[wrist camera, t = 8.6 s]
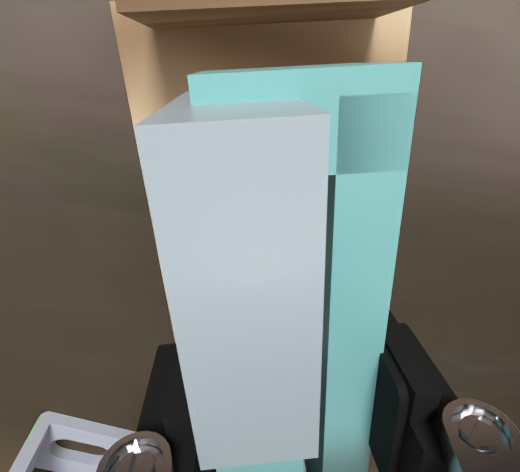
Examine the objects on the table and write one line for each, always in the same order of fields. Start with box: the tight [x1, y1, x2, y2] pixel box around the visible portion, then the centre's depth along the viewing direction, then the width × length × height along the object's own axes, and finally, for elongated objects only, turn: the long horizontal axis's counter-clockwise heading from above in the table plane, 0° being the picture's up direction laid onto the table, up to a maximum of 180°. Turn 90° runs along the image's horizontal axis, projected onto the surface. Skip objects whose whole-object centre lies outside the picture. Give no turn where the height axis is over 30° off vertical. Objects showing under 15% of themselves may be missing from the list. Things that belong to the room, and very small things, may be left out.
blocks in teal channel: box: [134, 62, 422, 472], centre depth 9 cm, size 14×4×5 cm, turn 3°
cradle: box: [109, 0, 430, 343], centre depth 16 cm, size 19×12×6 cm, turn 3°
